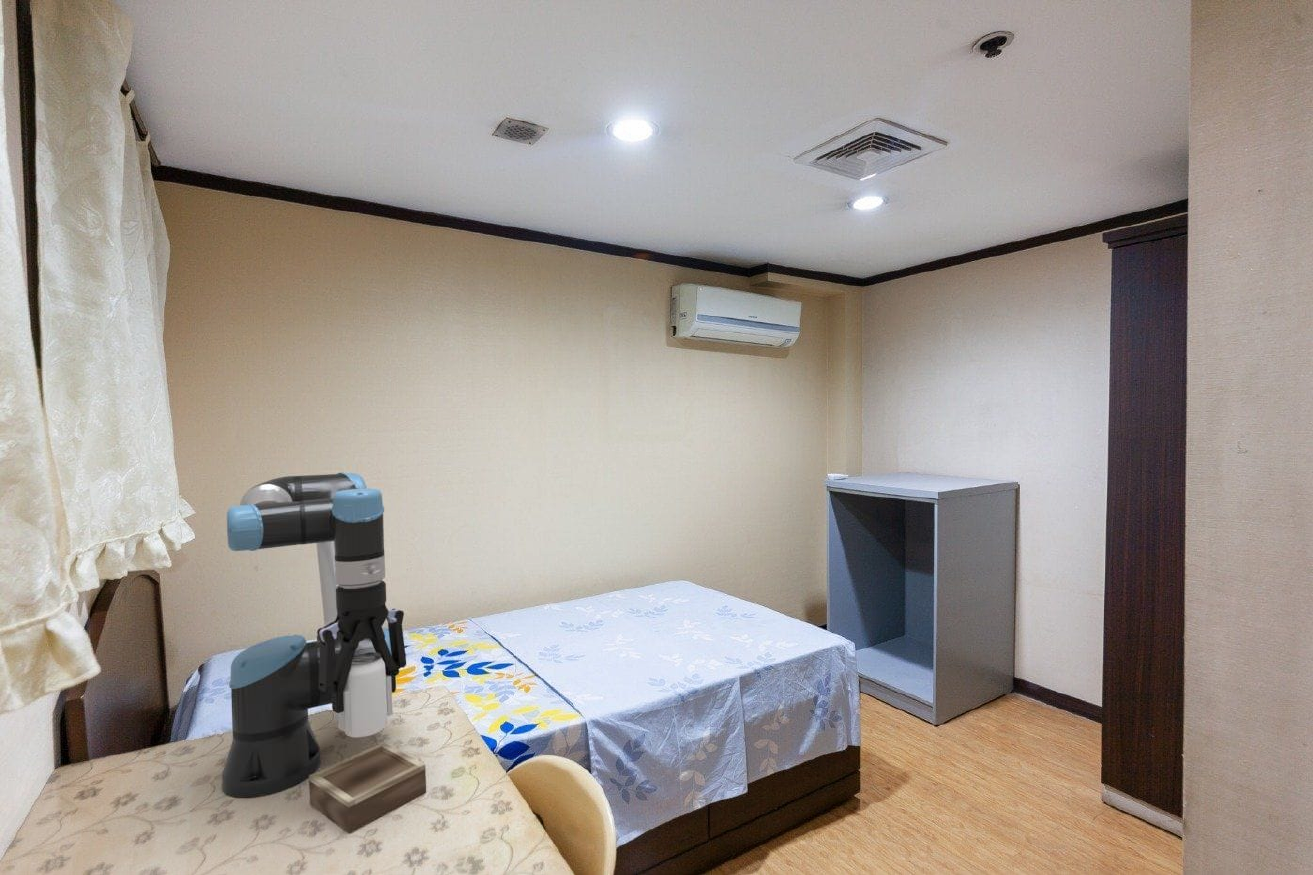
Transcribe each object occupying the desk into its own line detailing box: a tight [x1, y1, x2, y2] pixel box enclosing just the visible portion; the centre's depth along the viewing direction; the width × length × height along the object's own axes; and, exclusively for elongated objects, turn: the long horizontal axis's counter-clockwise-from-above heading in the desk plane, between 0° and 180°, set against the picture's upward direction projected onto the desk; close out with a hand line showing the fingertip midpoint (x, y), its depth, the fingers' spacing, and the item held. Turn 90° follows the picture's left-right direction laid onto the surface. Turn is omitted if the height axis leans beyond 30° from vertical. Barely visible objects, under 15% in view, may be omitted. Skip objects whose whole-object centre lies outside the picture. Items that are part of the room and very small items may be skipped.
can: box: [344, 652, 388, 739], centre depth 104 cm, size 6×6×12 cm
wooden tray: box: [308, 742, 427, 834], centre depth 105 cm, size 13×13×5 cm
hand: (366, 721), depth 105 cm, fingers closed on can, 6 cm apart
